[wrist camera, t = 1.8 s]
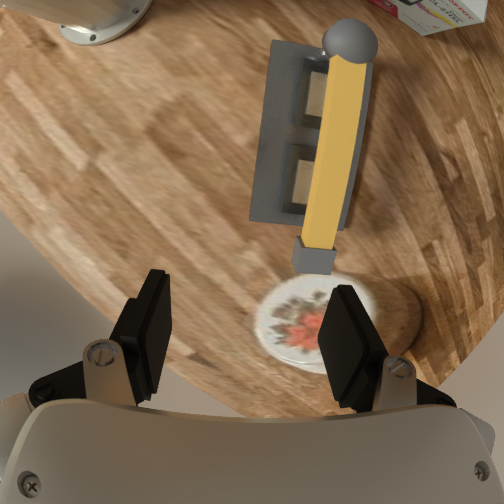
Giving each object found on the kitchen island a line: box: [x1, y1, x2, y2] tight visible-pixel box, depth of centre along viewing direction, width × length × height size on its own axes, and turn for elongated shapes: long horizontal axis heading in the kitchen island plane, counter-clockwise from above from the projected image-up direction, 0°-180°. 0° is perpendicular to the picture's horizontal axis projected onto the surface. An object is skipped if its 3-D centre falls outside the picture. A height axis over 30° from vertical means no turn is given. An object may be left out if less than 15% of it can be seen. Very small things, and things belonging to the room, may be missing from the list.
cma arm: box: [292, 18, 378, 275], centre depth 21 cm, size 22×4×2 cm, turn 173°
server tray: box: [249, 40, 373, 231], centre depth 26 cm, size 20×11×7 cm, turn 173°
